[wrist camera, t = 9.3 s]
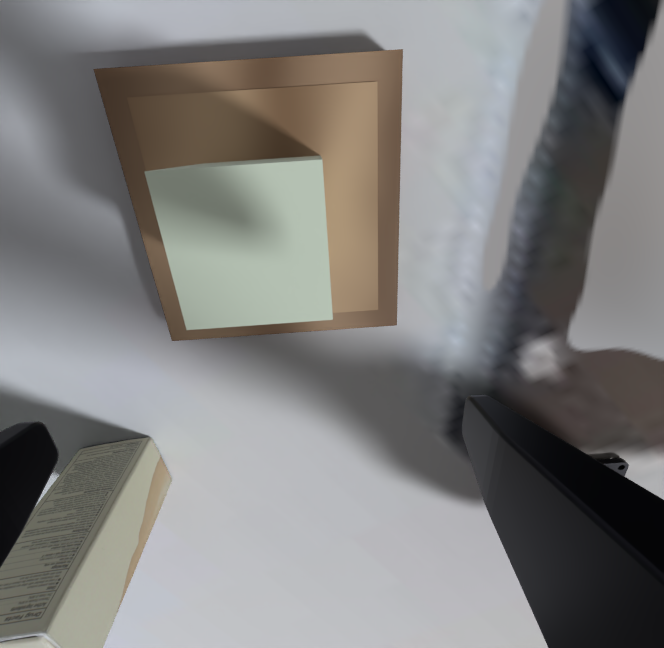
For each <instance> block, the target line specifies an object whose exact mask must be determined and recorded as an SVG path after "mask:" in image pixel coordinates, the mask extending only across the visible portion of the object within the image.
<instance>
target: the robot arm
mask: <svg viewBox="0 0 664 648" xmlns="http://www.w3.org/2000/svg"><path fill="white" fill-rule="evenodd" d="M462 434H463V438H464V441H465V444H466V447H467V450H468V454H469V457H470V460H471V463H472V466H473V469H474V472H475V475H476V478H477V481H478V485H479V488H480V491H481V494H482V497H483V500H484V502H485V505H486V508H487V510H488V513H489V515H490V517H491V520H492V522H493V524H494V526H495V529H496V531H497V533H498V535H499V538H500V540H501V542H502V544H503V547H504V549H505V551H506V553H507V556H508V558H509V560H510V562H511V565H512V567H513V569H514V571H515V574H516V576H517V578H518V580H519V582H520V585H521V587H522V589H523V591H524V594H525V596H526V598H527V600H528V603H529V605H530V607H531V609H532V612H533V614H534V616H535V618H536V621H537V623H538V625H539V627H540V630H541V632H542V634H543V636H544V639H545V641H546V643H547V645H548V648H664V500H663V499H661V498H660V497H658V496H656V495H654V494H653V493H651V492H649V491H648V490H646V489H644V488H643V487H641V486H639V485H638V484H636V483H634V482H633V481H631V480H629V479H628V478H626V477H624V476H625V474H626V471H627V469H628V466H629V465H628V463H627V462H626V461H625V460H624V459H622V458H616V459H602V460H596V459H594V458H592V457H591V456H589V455H587V454H586V453H584V452H582V451H581V450H579V449H577V448H575V447H574V446H572V445H570V444H569V443H567V442H565V441H564V440H562V439H560V438H559V437H557V436H555V435H554V434H552V433H550V432H549V431H547V430H545V429H544V428H542V427H540V426H538V425H537V424H535V423H533V422H532V421H530V420H528V419H527V418H525V417H523V416H522V415H520V414H518V413H517V412H515V411H513V410H512V409H510V408H508V407H507V406H505V405H503V404H501V403H500V402H498V401H496V400H495V399H493V398H491V397H490V396H487V395H475V396H469V397H467V399H466V401H465V407H464V415H463V422H462ZM58 456H59V453H58V449H57V447H56V445H55V443H54V441H53V439H52V437H51V435H50V433H49V431H48V429H47V427H46V426H45V425H44V424H43V423H41V422H24V423H18V424H16V425H14V426H12V427H9V428H7V429H5V430H3V431H1V432H0V568H1V566H2V565H3V563H4V562H5V560H6V558H7V557H8V555H9V553H10V552H11V550H12V548H13V547H14V545H15V543H16V542H17V540H18V538H19V536H20V535H21V533H22V531H23V529H24V527H25V525H26V523H27V522H28V520H29V518H30V516H31V514H32V512H33V510H34V508H35V506H36V504H37V502H38V500H39V498H40V496H41V494H42V492H43V490H44V488H45V486H46V484H47V482H48V480H49V478H50V476H51V474H52V472H53V470H54V468H55V466H56V463H57V461H58Z"/></svg>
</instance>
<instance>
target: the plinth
mask: <svg viewBox="0 0 664 648" xmlns="http://www.w3.org/2000/svg"><path fill="white" fill-rule="evenodd" d="M402 61H403V49H401V50H385V51H370V52H354V53H338V54H322V55H307V56H291V57H275V58H259V59H244V60H228V61H212V62H196V63H181V64H165V65H149V66H133V67H118V68H102V69H94V73H95V76H96V79H97V83H98V86H99V90H100V93H101V97H102V100H103V104H104V107H105V111H106V114H107V117H108V121H109V124H110V128H111V131H112V135H113V138H114V142H115V145H116V149H117V152H118V156H119V159H120V162H121V166H122V169H123V173H124V176H125V180H126V183H127V187H128V190H129V194H130V197H131V200H132V204H133V207H134V211H135V214H136V218H137V221H138V225H139V228H140V232H141V235H142V239H143V242H144V245H145V249H146V252H147V256H148V259H149V263H150V266H151V270H152V273H153V277H154V280H155V283H156V287H157V290H158V294H159V297H160V301H161V304H162V308H163V311H164V315H165V318H166V322H167V325H168V328H169V332H170V335H171V339H172V341H179V340H193V339H208V338H222V337H236V336H250V335H265V334H279V333H293V332H307V331H321V330H336V329H350V328H364V327H378V326H393V325H397V289H398V243H399V198H400V152H401V106H402ZM319 155H320V156H321V158H322V161H323V176H324V191H325V207H326V222H327V237H328V252H329V267H330V283H331V298H332V313H333V320H322V321H308V322H294V323H280V324H266V325H252V326H238V327H224V328H210V329H196V330H186V326H185V322H184V318H183V315H182V311H181V307H180V303H179V300H178V296H177V292H176V288H175V285H174V281H173V277H172V273H171V270H170V266H169V262H168V258H167V255H166V251H165V247H164V243H163V240H162V236H161V232H160V229H159V225H158V221H157V217H156V214H155V210H154V206H153V202H152V199H151V195H150V191H149V187H148V184H147V180H146V176H145V172H144V171H152V170H159V169H166V168H173V167H181V166H188V165H195V164H202V163H216V162H230V161H245V160H260V159H275V158H289V157H304V156H319Z"/></svg>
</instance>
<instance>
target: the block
mask: <svg viewBox="0 0 664 648" xmlns="http://www.w3.org/2000/svg"><path fill="white" fill-rule="evenodd" d="M144 172H145V176H146V180H147V184H148V187H149V191H150V195H151V199H152V202H153V206H154V210H155V214H156V217H157V221H158V225H159V229H160V232H161V236H162V240H163V243H164V247H165V251H166V255H167V258H168V262H169V266H170V270H171V273H172V277H173V281H174V285H175V288H176V292H177V296H178V300H179V303H180V307H181V311H182V315H183V318H184V322H185V326H186V330H196V329H210V328H224V327H238V326H252V325H266V324H280V323H294V322H308V321H322V320H333V313H332V298H331V283H330V267H329V252H328V237H327V222H326V207H325V191H324V176H323V161H322V158H321V156H320V155H319V156H304V157H289V158H275V159H260V160H245V161H230V162H216V163H202V164H195V165H188V166H181V167H173V168H166V169H159V170H152V171H144Z"/></svg>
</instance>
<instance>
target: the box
mask: <svg viewBox="0 0 664 648" xmlns="http://www.w3.org/2000/svg"><path fill="white" fill-rule="evenodd" d="M171 481H172V479H171V476H170V474H169V472H168V470H167V468H166V465H165V464H164V461H163V459H162V457H161V455H160V453H159V451H158V449H157V447H156V445H155V444H154V442H153V440H152V438H150V437H146V438H139V439H131V440H125V441H120V442H114V443H108V444H102V445H97V446H92V447H87V448H82V449H80V450H79V451H78V452H77V453H76V454H75V456H74V457H73V458H72V460H71V461H70V462H69V464H68V465H67V466H66V468H65V469H64V470H63V472H62V473H61V474H60V475H59V477H58V478H57V479H56V481H55V482H54V483H53V485H52V486H51V487H50V489H49V490H48V491H47V493H46V494H45V495H44V496H43V498H42V499H41V500H40V502H39V503H38V504H37V506H36V507H35V508H34V510H33V512H32V514H31V516H30V518H29V520H28V522H27V523H26V525H25V527H24V529H23V531H22V533H21V535H20V536H19V538H18V540H17V542H16V543H15V545H14V547H13V548H12V550H11V552H10V553H9V555H8V557H7V558H6V560H5V562H4V563H3V565H2V566H1V568H0V648H103V646H104V643H105V641H106V639H107V636H108V634H109V631H110V629H111V627H112V624H113V622H114V619H115V617H116V614H117V612H118V609H119V607H120V605H121V602H122V600H123V597H124V595H125V593H126V590H127V588H128V585H129V583H130V581H131V578H132V576H133V574H134V571H135V569H136V566H137V564H138V561H139V559H140V557H141V554H142V552H143V549H144V546H145V544H146V542H147V540H148V537H149V535H150V532H151V530H152V527H153V525H154V523H155V520H156V518H157V515H158V513H159V511H160V508H161V506H162V503H163V501H164V499H165V496H166V494H167V491H168V489H169V486H170V484H171Z"/></svg>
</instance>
